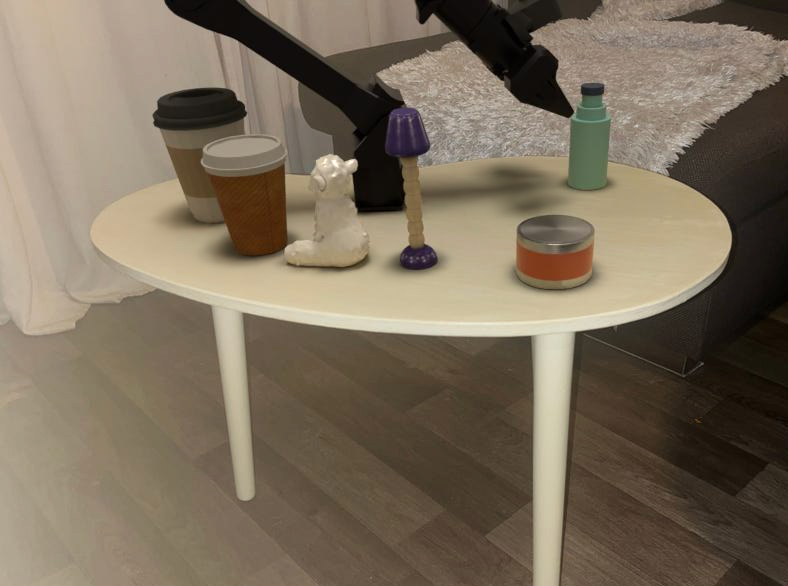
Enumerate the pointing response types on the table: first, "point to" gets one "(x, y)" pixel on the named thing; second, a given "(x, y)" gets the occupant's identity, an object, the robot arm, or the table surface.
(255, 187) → the disposable coffee cup
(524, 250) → the can
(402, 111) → the toy lamp
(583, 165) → the bottle
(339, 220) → the white creature statuette
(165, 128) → the coffee cup
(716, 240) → the table surface
